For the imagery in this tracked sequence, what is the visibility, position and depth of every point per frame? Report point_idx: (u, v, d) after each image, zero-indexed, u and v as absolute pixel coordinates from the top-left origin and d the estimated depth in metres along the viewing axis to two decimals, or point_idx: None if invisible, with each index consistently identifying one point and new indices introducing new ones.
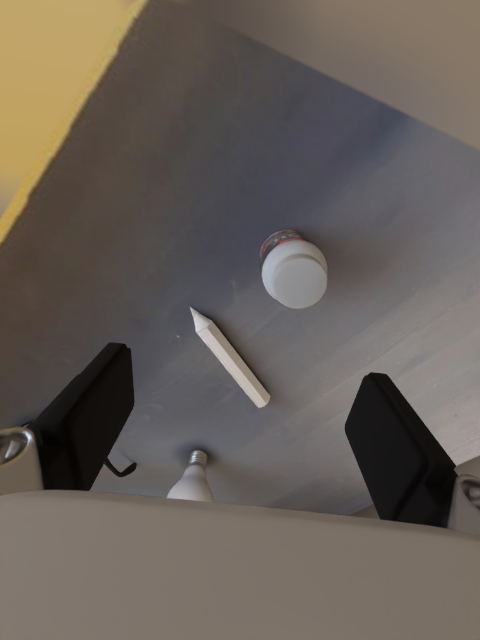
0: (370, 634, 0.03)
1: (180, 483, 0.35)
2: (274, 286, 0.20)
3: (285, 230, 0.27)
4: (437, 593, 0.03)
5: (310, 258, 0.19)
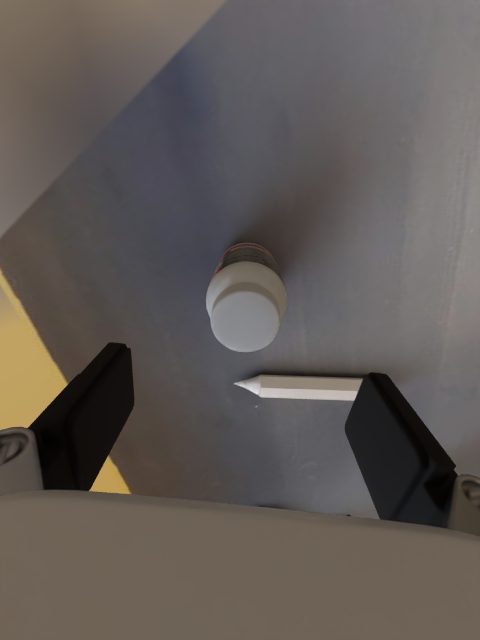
0: (370, 634, 0.03)
1: None
2: (229, 347, 0.16)
3: None
4: (437, 593, 0.03)
5: (223, 296, 0.15)
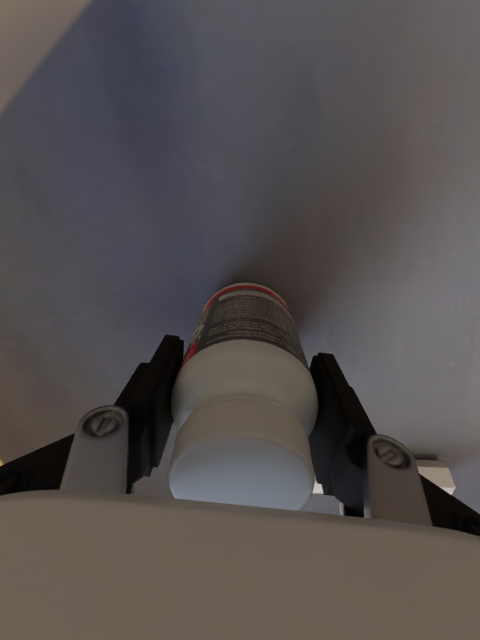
0: (370, 634, 0.03)
1: None
2: None
3: (204, 307, 0.15)
4: (437, 593, 0.03)
5: (192, 440, 0.07)
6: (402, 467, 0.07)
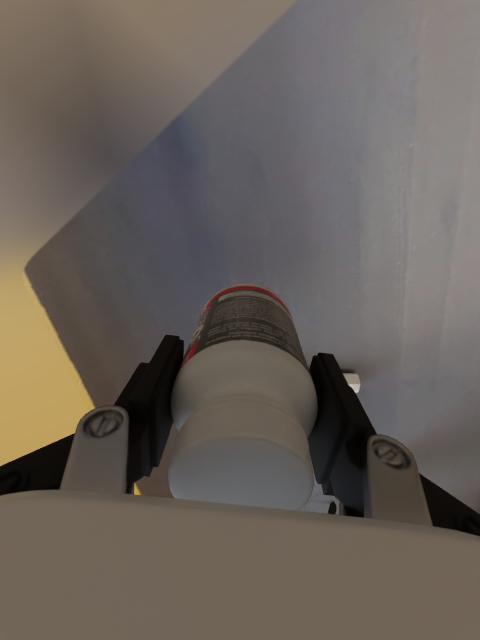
0: (370, 634, 0.03)
1: None
2: None
3: (204, 307, 0.15)
4: (437, 593, 0.03)
5: (191, 440, 0.07)
6: (402, 467, 0.07)
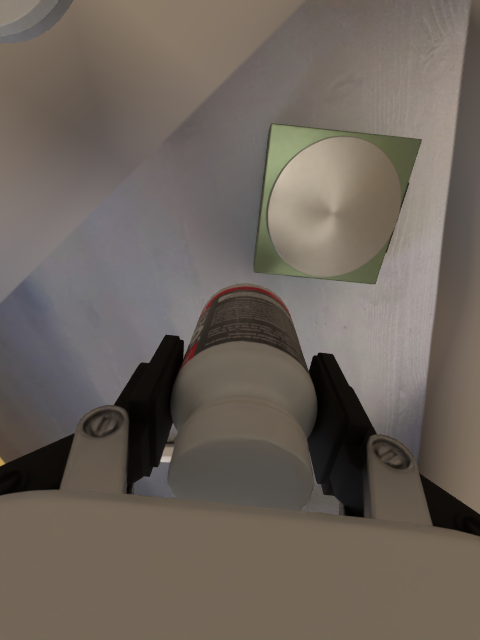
0: (370, 634, 0.03)
1: None
2: None
3: None
4: (437, 593, 0.03)
5: (191, 442, 0.07)
6: (402, 467, 0.07)
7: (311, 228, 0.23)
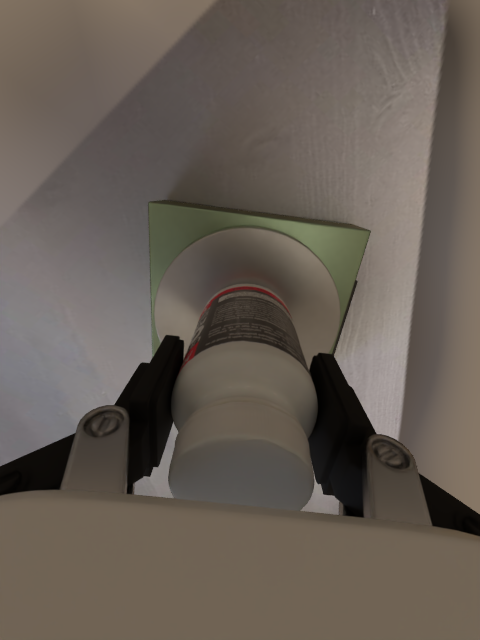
0: (370, 634, 0.03)
1: None
2: None
3: (204, 308, 0.15)
4: (437, 593, 0.03)
5: (192, 441, 0.07)
6: (401, 467, 0.07)
7: None
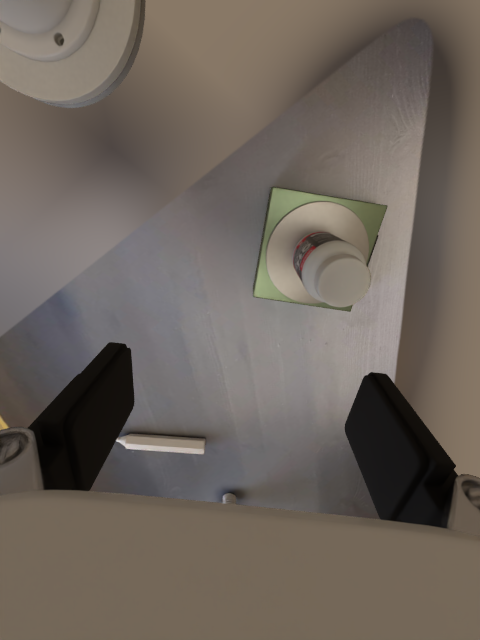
0: (370, 634, 0.03)
1: None
2: (328, 303, 0.21)
3: (297, 244, 0.28)
4: (437, 593, 0.03)
5: (330, 262, 0.20)
6: None
7: None
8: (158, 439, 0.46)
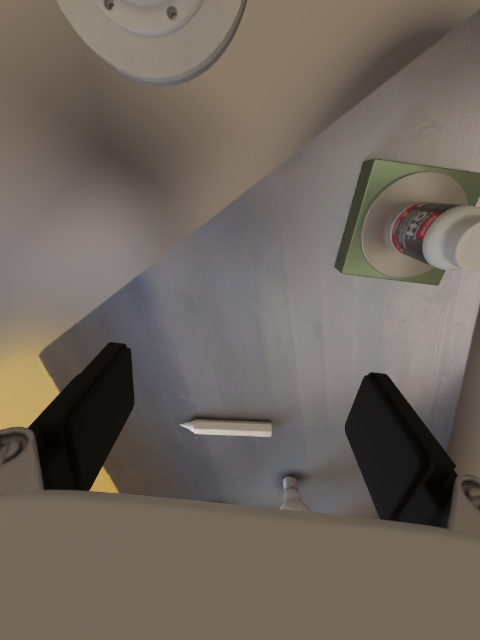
0: (370, 634, 0.03)
1: None
2: (463, 266, 0.21)
3: (398, 216, 0.28)
4: (437, 593, 0.03)
5: (473, 224, 0.20)
6: None
7: None
8: (225, 423, 0.46)
